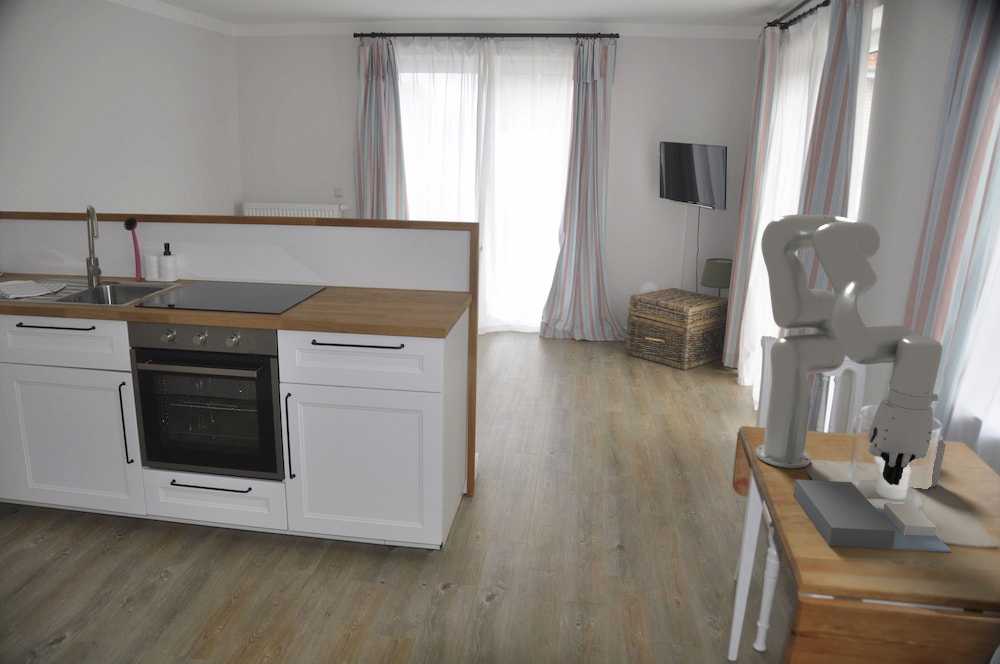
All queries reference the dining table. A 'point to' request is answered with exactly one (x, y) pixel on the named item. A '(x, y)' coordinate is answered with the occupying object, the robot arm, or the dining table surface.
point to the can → (938, 461)
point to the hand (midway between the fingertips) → (890, 481)
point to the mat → (915, 540)
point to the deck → (843, 515)
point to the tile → (909, 519)
